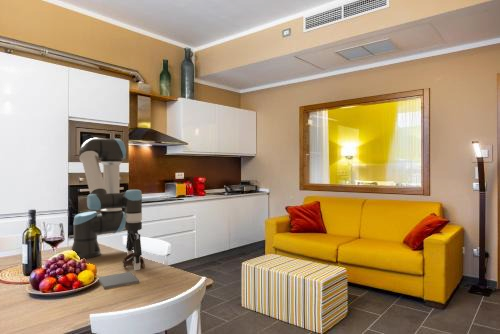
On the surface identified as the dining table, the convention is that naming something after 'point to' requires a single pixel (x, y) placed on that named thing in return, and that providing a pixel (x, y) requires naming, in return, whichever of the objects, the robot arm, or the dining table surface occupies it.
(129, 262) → the brown arch piece
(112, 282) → the slate mat
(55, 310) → the dining table surface
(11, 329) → the dining table surface
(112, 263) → the dining table surface
